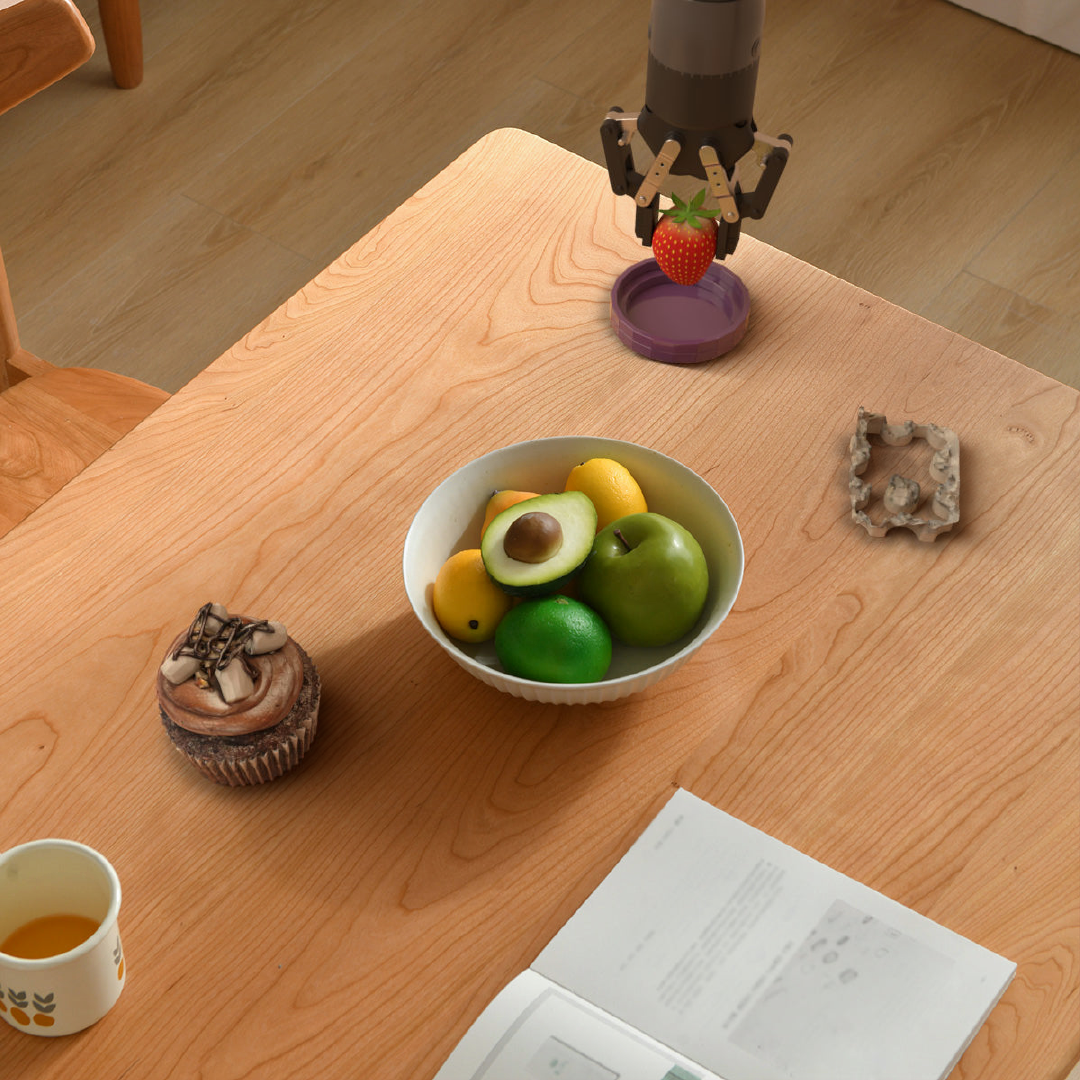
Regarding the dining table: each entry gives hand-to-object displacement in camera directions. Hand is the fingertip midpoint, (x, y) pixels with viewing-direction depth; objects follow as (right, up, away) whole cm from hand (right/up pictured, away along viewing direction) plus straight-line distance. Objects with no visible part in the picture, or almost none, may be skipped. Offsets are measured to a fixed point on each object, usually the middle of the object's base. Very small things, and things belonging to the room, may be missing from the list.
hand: (685, 246), depth 104 cm
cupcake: (-29, -35, -19) cm, 49 cm away
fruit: (0, -2, +3) cm, 4 cm away
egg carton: (+14, -20, -6) cm, 25 cm away
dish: (0, -5, +6) cm, 8 cm away
